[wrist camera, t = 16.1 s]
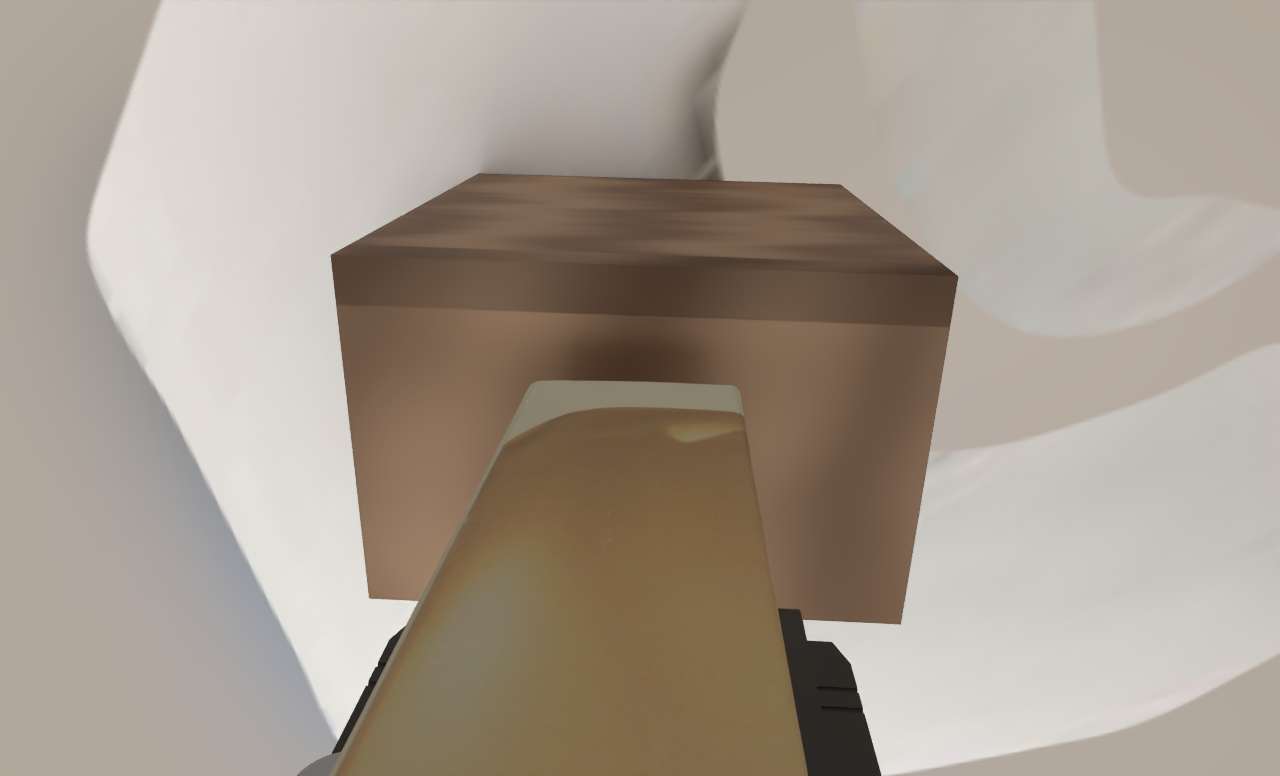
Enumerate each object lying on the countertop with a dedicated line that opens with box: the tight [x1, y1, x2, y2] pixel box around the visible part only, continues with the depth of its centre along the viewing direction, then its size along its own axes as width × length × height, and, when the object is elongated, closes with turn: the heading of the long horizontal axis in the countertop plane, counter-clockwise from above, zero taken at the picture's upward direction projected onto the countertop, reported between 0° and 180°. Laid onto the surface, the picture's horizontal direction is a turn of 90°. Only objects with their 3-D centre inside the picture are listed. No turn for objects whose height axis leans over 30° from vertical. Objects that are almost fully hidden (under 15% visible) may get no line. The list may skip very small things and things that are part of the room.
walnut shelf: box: [331, 174, 958, 624], centre depth 28 cm, size 14×10×15 cm, turn 89°
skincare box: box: [329, 380, 808, 776], centre depth 12 cm, size 6×4×12 cm
